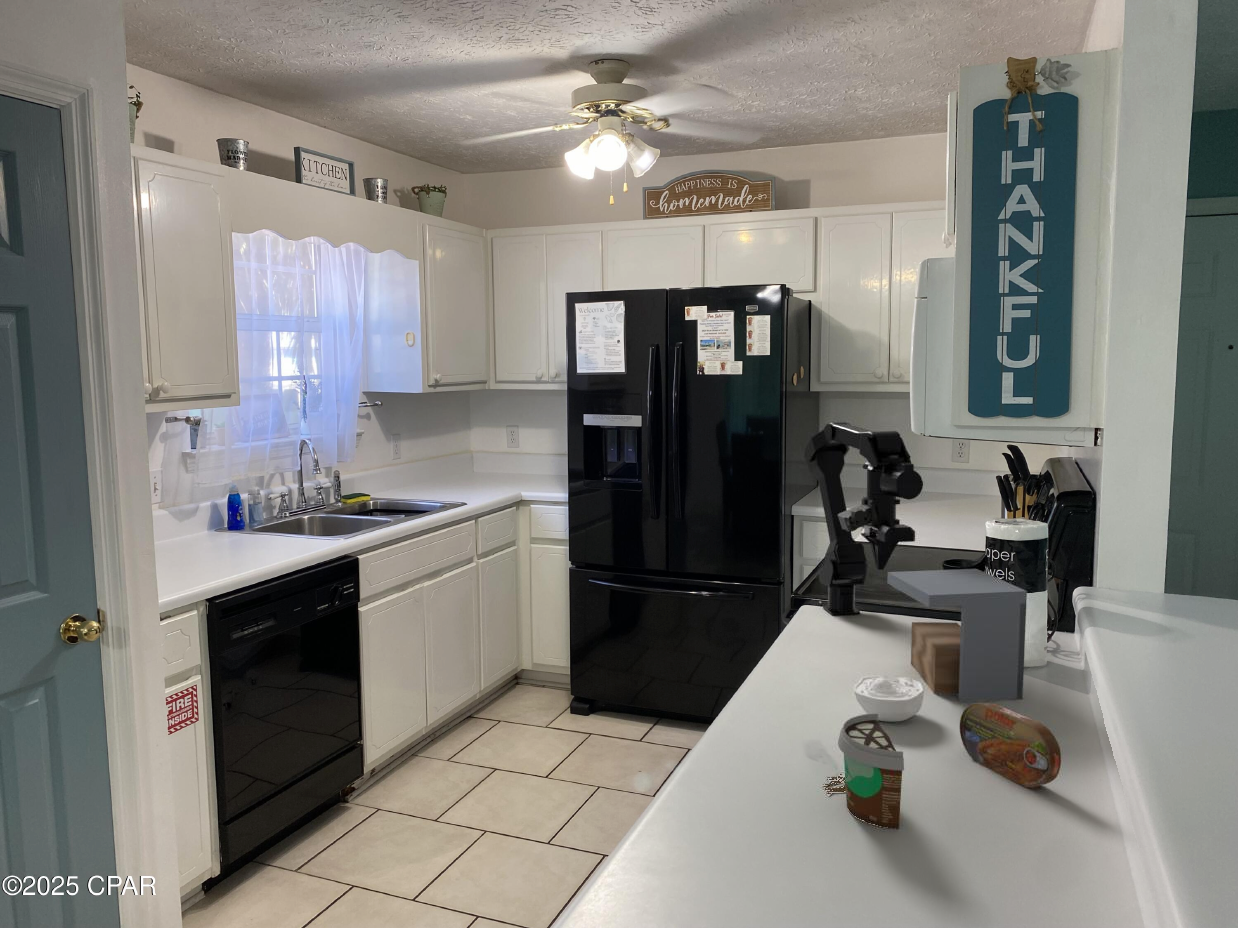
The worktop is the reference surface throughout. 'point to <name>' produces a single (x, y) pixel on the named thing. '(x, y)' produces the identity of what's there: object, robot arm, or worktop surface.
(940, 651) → the walnut block
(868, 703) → the white bowl of cream
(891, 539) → the robot arm
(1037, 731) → the tin
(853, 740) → the food container
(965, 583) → the slate shelf
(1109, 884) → the worktop surface
